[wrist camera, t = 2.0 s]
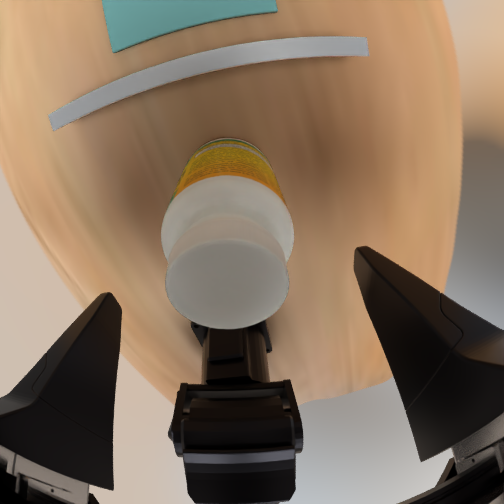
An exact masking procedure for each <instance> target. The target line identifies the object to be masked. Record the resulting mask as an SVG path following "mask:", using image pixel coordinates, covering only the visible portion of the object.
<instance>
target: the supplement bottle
mask: <svg viewBox="0 0 504 504" xmlns="http://www.w3.org/2000/svg"><path fill="white" fill-rule="evenodd" d="M161 242H162V248H163V252H164V254H165V257H166V259H167V261H168V267H167V272H166V280H165V287H166V292H167V295H168V298H169V300H170V302H171V304H172V305H173V306H174V308H175V309H176V310H177V311H178V312H179V313H180V314H182V315H183V316H184V317H186V318H188V319H189V320H191V321H193V322H195V323H197V324H200V325H203V326H206V327H210V328H218V329H237V328H244V327H247V326H251V325H254V324H257V323H259V322H261V321H263V320H265V319H267V318H268V317H270V316H271V315H273V314H274V313H275V312H276V311H277V310H278V309H279V308H280V307H281V305H282V304H283V302H284V300H285V298H286V296H287V294H288V290H289V275H288V270H287V266H286V263H287V261H288V259H289V257H290V255H291V252H292V248H293V244H294V228H293V223H292V219H291V216H290V213H289V211H288V208H287V205H286V203H285V200H284V198H283V195H282V193H281V190H280V188H279V185H278V183H277V180H276V177H275V175H274V172H273V170H272V167H271V165H270V163H269V161H268V159H267V158H266V157H265V155H264V154H263V153H262V152H261V151H260V150H259V149H258V148H256V147H255V146H254V145H252V144H250V143H248V142H246V141H244V140H240V139H235V138H221V139H216V140H212V141H210V142H208V143H206V144H204V145H203V146H201V147H200V148H199V149H198V150H197V151H196V152H195V153H194V154H193V155H192V156H191V158H190V159H189V161H188V162H187V164H186V166H185V168H184V171H183V173H182V175H181V178H180V179H179V182H178V184H177V187H176V189H175V192H174V194H173V196H172V199H171V201H170V203H169V206H168V208H167V211H166V213H165V216H164V219H163V223H162V229H161Z"/></svg>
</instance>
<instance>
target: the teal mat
mask: <svg viewBox="0 0 504 504" xmlns="http://www.w3.org/2000/svg"><path fill="white" fill-rule="evenodd" d="M102 4H103V9H104V14H105V19H106V24H107V29H108V34H109V38H110V43H111V47H112V51H113V53H117V52H119V51H121V50H124V49H126V48H129V47H131V46H134V45H136V44H139V43H141V42H144V41H147V40H150V39H153V38H156V37H159V36H162V35H165V34H168V33H171V32H175V31H178V30H181V29H185V28H189V27H193V26H197V25H201V24H205V23H209V22H214V21H219V20H224V19H229V18H235V17H241V16H248V15H256V14H264V13H275V12H277V11H278V10H277V5H276V1H275V0H102Z"/></svg>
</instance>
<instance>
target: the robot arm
mask: <svg viewBox="0 0 504 504" xmlns="http://www.w3.org/2000/svg"><path fill="white" fill-rule="evenodd" d="M354 272H355V275H356V278H357V281H358V284H359V287H360V291H361V294H362V297H363V300H364V303H365V306H366V309H367V312H368V314H369V317H370V319H371V321H372V324H373V326H374V328H375V331H376V333H377V335H378V338H379V340H380V343H381V345H382V348H383V350H384V353H385V355H386V358H387V360H388V363H389V366H390V368H391V371H392V374H393V376H394V379H395V382H396V385H397V387H398V390H399V393H400V396H401V399H402V402H403V404H404V408H405V410H406V414H407V417H408V420H409V424H410V427H411V430H412V433H413V437H414V440H415V443H416V447H417V451H418V454H419V458H420V461H421V462H422V461H425V460H427V459H429V458H431V457H434V456H436V455H438V454H440V453H441V452H443V451H445V450H447V449H449V448H452V452H453V455H454V457H453V458H451V459H449V461H448V463H447V466H446V468H445V470H444V472H443V473H442V475H441V477H440V479H439V481H438V483H437V485H436V486H435V487H434V488H432V489H430V490H428V491H426V492H424V493H422V494H419V495H417V496H415V497H412V498H410V499H408V500H405V501H403V502H400V503H398V504H504V330H502V329H500V328H498V327H496V326H494V325H493V324H491V323H489V322H488V321H486V320H484V319H483V318H481V317H479V316H478V315H476V314H474V313H472V312H471V311H469V310H467V309H465V308H464V307H462V306H461V305H459V304H458V303H456V302H455V301H453V300H452V299H450V298H448V297H447V296H446V295H444V294H443V293H440V292H439V291H438V290H437V289H435V288H434V287H432V286H430V285H429V284H427V283H426V282H424V281H423V280H421V279H420V278H418V277H417V276H415V275H414V274H412V273H410V272H409V271H407V270H406V269H404V268H403V267H401V266H399V265H398V264H396V263H394V262H393V261H391V260H390V259H388V258H386V257H385V256H383V255H381V254H380V253H378V252H376V251H375V250H373V249H371V248H370V247H368V246H361V247H357V248H356V249H355V253H354ZM121 320H122V309H121V306H120V305H119V303H118V302H117V300H116V299H115V297H114V296H113V294H112V293H110V292H107V293H102V294H100V295H99V296H98V297H97V298H96V299H95V300H94V301H93V302H92V303H91V304H90V305H89V306H88V307H87V308H86V309H85V311H84V312H83V313H82V314H81V315H80V316H79V317H78V318H77V319H76V320H75V321H74V322H73V323H72V324H71V325H70V326H69V328H68V329H67V330H66V331H65V332H64V333H63V334H62V335H61V336H60V337H59V339H58V340H57V341H56V342H55V343H54V344H53V345H52V346H51V348H50V349H49V350H48V351H47V353H45V354H44V355H43V357H42V358H41V359H40V360H39V361H38V362H37V364H36V365H35V366H34V367H33V368H32V369H31V370H30V371H29V372H28V374H27V375H26V376H25V377H24V378H23V379H22V380H21V381H20V382H19V383H18V384H17V385H16V386H15V387H14V388H13V390H12V391H11V392H10V393H9V394H7V395H5V396H4V397H1V398H0V504H99V502H98V501H97V500H96V498H95V497H94V495H93V494H91V493H89V484H90V485H94V486H97V487H100V488H104V489H108V490H112V491H113V490H114V480H113V420H114V403H115V389H116V379H117V369H118V360H119V352H120V341H121ZM191 328H192V330H193V331H194V333H195V335H196V337H197V339H198V340H199V342H200V344H201V345H202V347H203V354H202V381H201V384H188V383H181V385H180V390H179V391H178V392H177V398H176V403H175V409H174V415H173V419H172V422H171V425H170V428H169V431H168V437H169V438H170V439H171V440H172V441H173V444H174V448H175V452H176V454H177V456H178V457H183V461H184V468H185V475H186V480H187V490H188V494H189V496H190V497H191V498H192V500H193V501H194V503H196V504H279V502H284V501H289V500H290V499H291V497H292V495H293V494H294V492H295V490H296V487H295V479H296V474H295V473H296V472H295V471H296V465H295V464H296V463H295V462H296V461H295V460H296V459H295V458H296V456H295V454H296V453H301V452H302V449H303V428H302V421H301V418H300V413H299V410H298V406H297V402H296V399H295V395H294V391H293V388H292V384H291V381H290V379H288V380H283V381H278V382H270V378H269V370H268V362H267V353H270V352H271V351H272V345H271V341H270V337H269V333H268V328H267V324H266V320H263V321H261V322H259V323H257V324H254V325H251V326H247V327H244V328H237V329H218V328H210V327H206V326H203V325H200V324H197V323H195V322H193V321H191Z"/></svg>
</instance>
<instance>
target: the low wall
mask: <svg viewBox="0 0 504 504" xmlns="http://www.w3.org/2000/svg"><path fill="white" fill-rule="evenodd" d="M352 56H369V51H368V44H367V37H344V36H320V37H297V38H284V39H274V40H266V41H258V42H251V43H244V44H239V45H233V46H228V47H223V48H218V49H213V50H209V51H204V52H200V53H196V54H192V55H189V56H185V57H181V58H178V59H174V60H171V61H168V62H165V63H162V64H158V65H155V66H153V67H150V68H147V69H144V70H141V71H138V72H136V73H133V74H131V75H128V76H126V77H123V78H121V79H118V80H116V81H113V82H111V83H109V84H107V85H104V86H102V87H100V88H98V89H96V90H94V91H92V92H89V93H87V94H85V95H83V96H81V97H79V98H78V99H76V100H74V101H72V102H70V103H68V104H66V105H65V106H63V107H61V108H59V109H57V110H56V111H54V112H52V113H51V114H49V115H48V116H49V120H50V123H51V126H52V129H53V131H55V130H57V129H59V128H61V127H63V126H65V125H67V124H69V123H71V122H73V121H76V120H78V119H80V118H82V117H84V116H86V115H88V114H90V113H92V112H95V111H97V110H99V109H101V108H104V107H106V106H108V105H111V104H113V103H115V102H118V101H120V100H123V99H125V98H128V97H131V96H133V95H136V94H139V93H141V92H144V91H147V90H150V89H153V88H156V87H159V86H162V85H165V84H169V83H172V82H175V81H179V80H182V79H186V78H190V77H193V76H197V75H201V74H205V73H210V72H214V71H219V70H223V69H228V68H233V67H239V66H244V65H250V64H257V63H264V62H271V61H279V60H289V59H300V58H316V57H352Z"/></svg>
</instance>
